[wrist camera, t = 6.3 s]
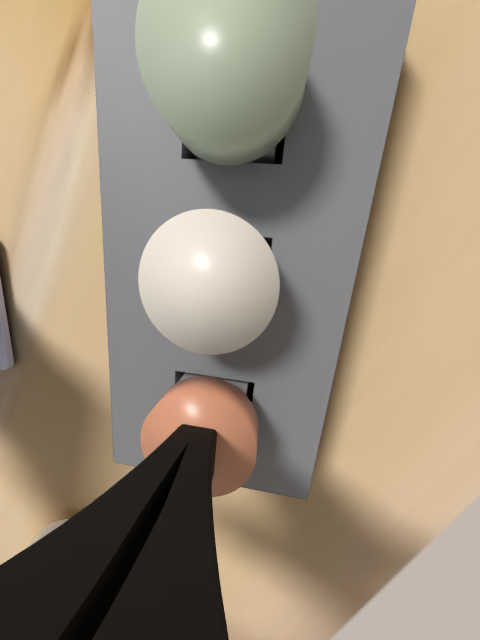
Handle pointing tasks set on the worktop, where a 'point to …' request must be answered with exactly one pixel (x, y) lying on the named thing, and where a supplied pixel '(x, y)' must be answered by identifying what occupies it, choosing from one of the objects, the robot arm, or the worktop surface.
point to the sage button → (226, 71)
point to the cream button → (208, 281)
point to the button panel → (259, 211)
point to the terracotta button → (209, 424)
